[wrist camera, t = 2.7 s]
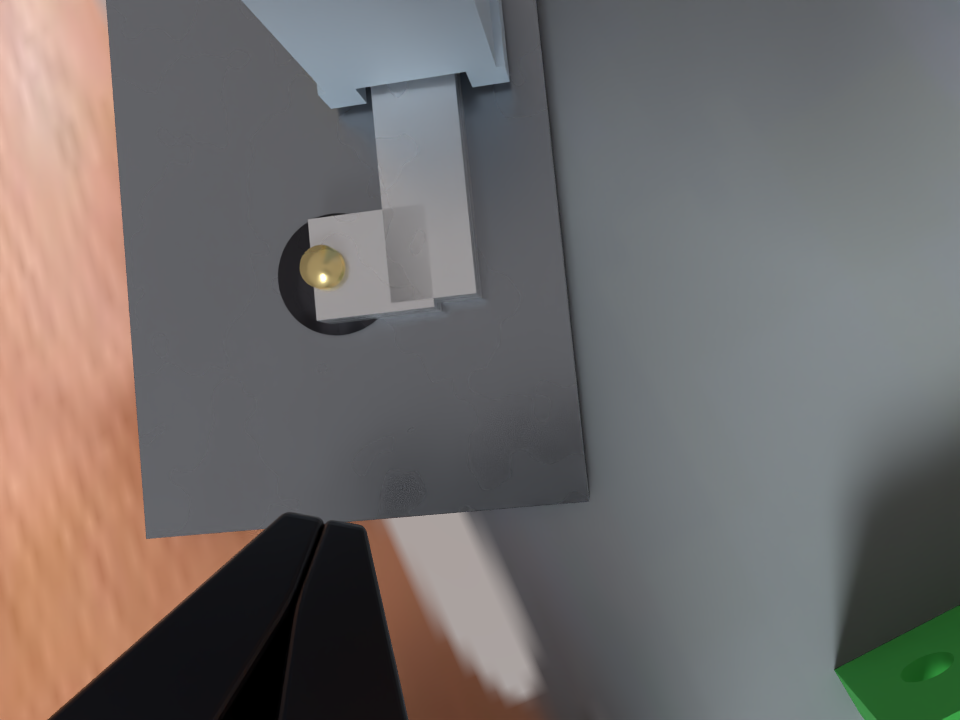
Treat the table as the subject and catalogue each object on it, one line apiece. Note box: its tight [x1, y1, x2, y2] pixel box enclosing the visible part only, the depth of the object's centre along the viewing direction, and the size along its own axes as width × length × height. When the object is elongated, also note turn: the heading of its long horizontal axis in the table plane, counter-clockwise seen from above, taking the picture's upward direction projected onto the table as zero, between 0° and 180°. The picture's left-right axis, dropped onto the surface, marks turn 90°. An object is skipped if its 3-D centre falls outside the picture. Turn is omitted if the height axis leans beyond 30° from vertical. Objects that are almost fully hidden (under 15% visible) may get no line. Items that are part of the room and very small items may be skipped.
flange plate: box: [106, 0, 589, 539], centre depth 22 cm, size 22×11×2 cm, turn 6°
